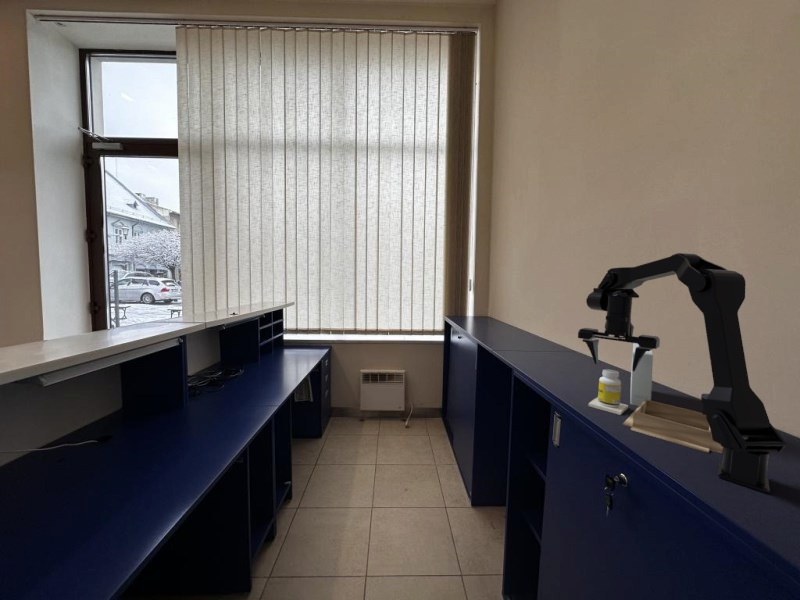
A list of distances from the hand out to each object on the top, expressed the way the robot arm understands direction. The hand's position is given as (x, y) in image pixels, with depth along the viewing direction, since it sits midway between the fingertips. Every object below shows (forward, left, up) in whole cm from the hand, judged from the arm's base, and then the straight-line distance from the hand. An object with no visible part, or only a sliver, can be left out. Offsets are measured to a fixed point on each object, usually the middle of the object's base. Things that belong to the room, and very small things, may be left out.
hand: (614, 367), depth 94 cm
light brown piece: (-4, -14, -12) cm, 19 cm away
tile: (0, +1, -12) cm, 12 cm away
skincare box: (+19, -3, -12) cm, 23 cm away
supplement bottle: (0, +1, -11) cm, 11 cm away
